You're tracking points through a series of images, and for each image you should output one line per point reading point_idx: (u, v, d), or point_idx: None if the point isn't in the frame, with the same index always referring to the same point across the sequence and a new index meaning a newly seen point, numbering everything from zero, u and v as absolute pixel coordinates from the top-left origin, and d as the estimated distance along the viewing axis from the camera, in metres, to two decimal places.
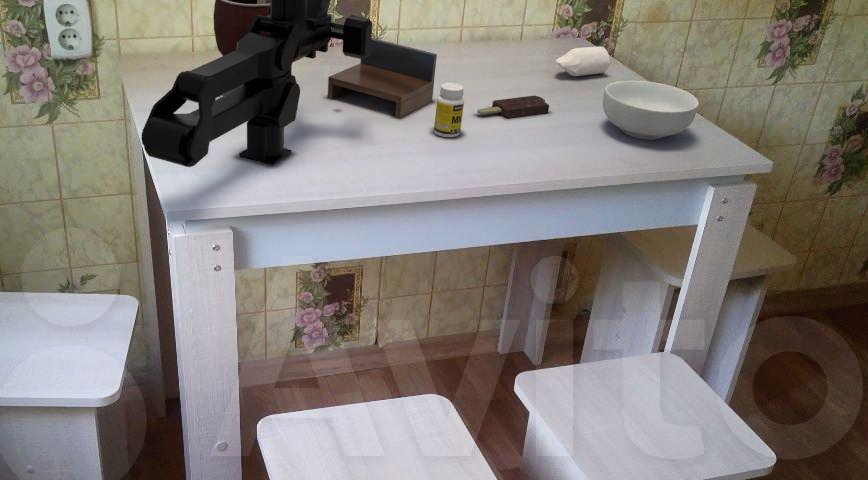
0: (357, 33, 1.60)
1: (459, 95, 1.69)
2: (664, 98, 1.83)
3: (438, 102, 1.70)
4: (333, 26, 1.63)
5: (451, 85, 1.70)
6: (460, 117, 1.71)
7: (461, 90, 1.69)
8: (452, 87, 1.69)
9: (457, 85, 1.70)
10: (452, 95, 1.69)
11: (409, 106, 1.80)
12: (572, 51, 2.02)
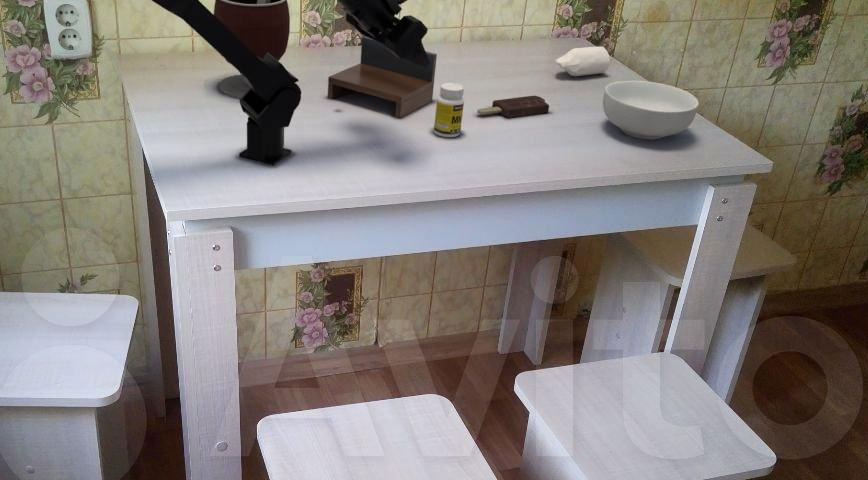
0: (407, 25, 1.51)
1: (459, 95, 1.69)
2: (664, 98, 1.83)
3: (438, 102, 1.70)
4: (396, 21, 1.56)
5: (451, 85, 1.70)
6: (460, 117, 1.71)
7: (461, 90, 1.69)
8: (452, 87, 1.69)
9: (457, 85, 1.70)
10: (452, 95, 1.69)
11: (409, 106, 1.80)
12: (572, 51, 2.02)
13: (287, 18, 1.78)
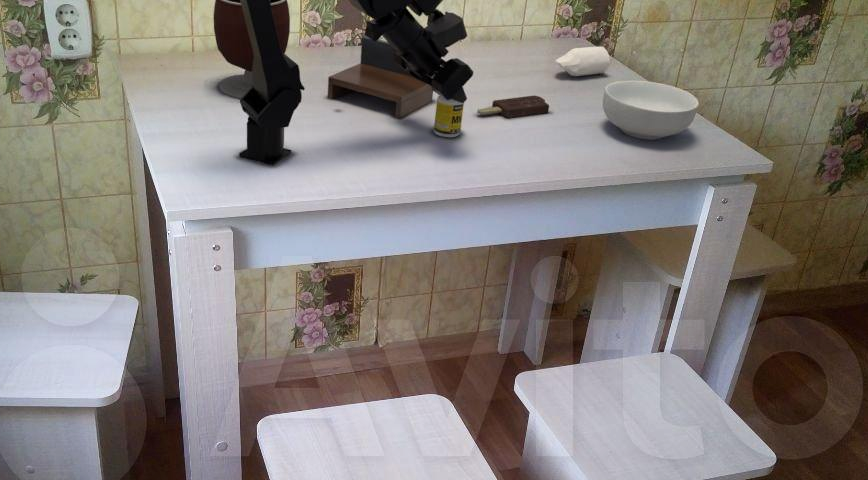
0: (454, 68, 1.58)
1: None
2: (664, 98, 1.83)
3: (438, 102, 1.70)
4: None
5: None
6: (460, 117, 1.71)
7: None
8: None
9: None
10: None
11: (409, 106, 1.80)
12: (572, 51, 2.02)
13: (287, 18, 1.78)
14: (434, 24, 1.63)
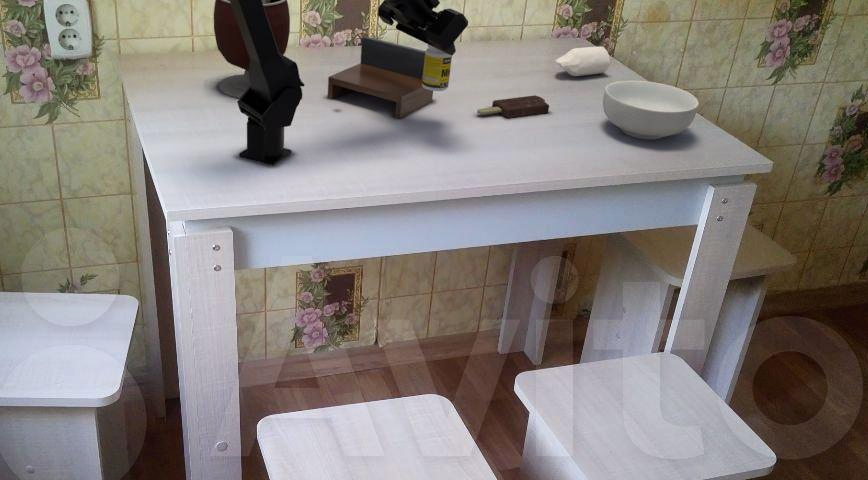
0: (450, 17, 1.58)
1: None
2: (664, 98, 1.83)
3: (427, 56, 1.70)
4: None
5: None
6: (449, 70, 1.71)
7: None
8: None
9: None
10: None
11: (409, 106, 1.80)
12: (572, 51, 2.02)
13: (287, 18, 1.78)
14: None
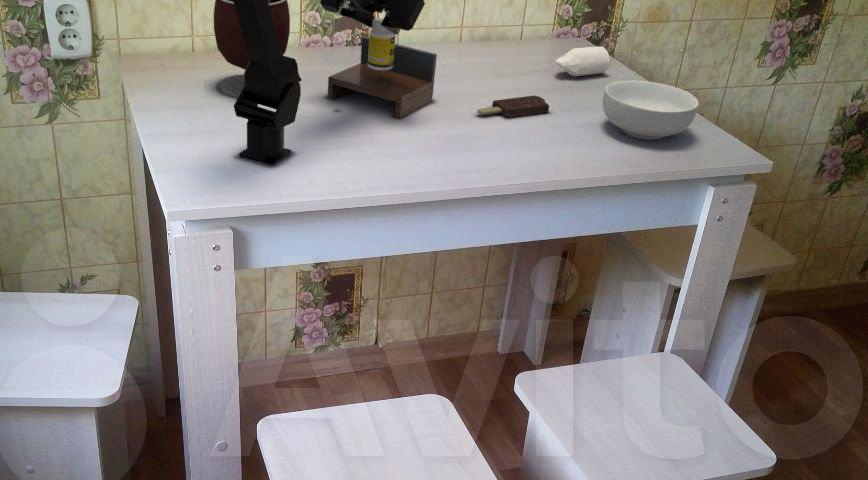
0: None
1: None
2: (664, 98, 1.83)
3: (374, 37, 1.77)
4: None
5: (381, 20, 1.77)
6: None
7: None
8: None
9: None
10: None
11: (409, 106, 1.80)
12: (572, 51, 2.02)
13: (287, 18, 1.78)
14: None
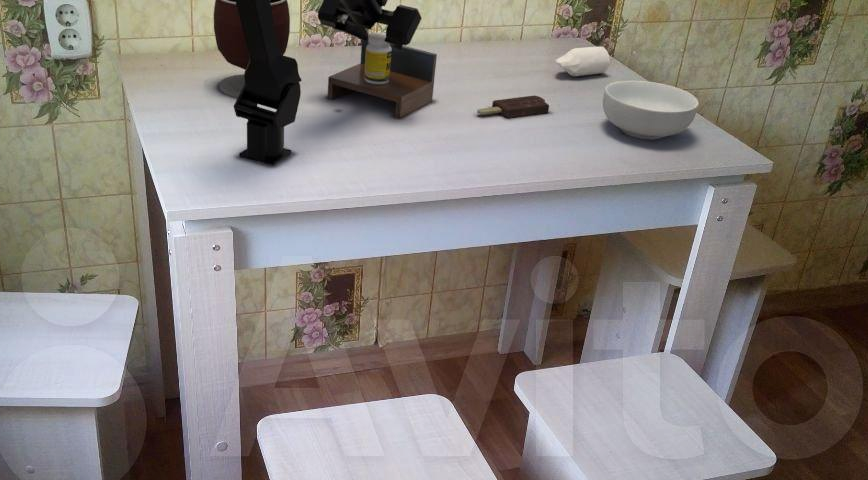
0: (407, 13, 1.68)
1: None
2: (664, 98, 1.83)
3: (371, 52, 1.78)
4: None
5: (377, 34, 1.79)
6: (390, 63, 1.81)
7: None
8: (381, 36, 1.78)
9: (382, 33, 1.79)
10: (385, 43, 1.77)
11: (409, 106, 1.80)
12: (572, 51, 2.02)
13: (287, 18, 1.78)
14: None
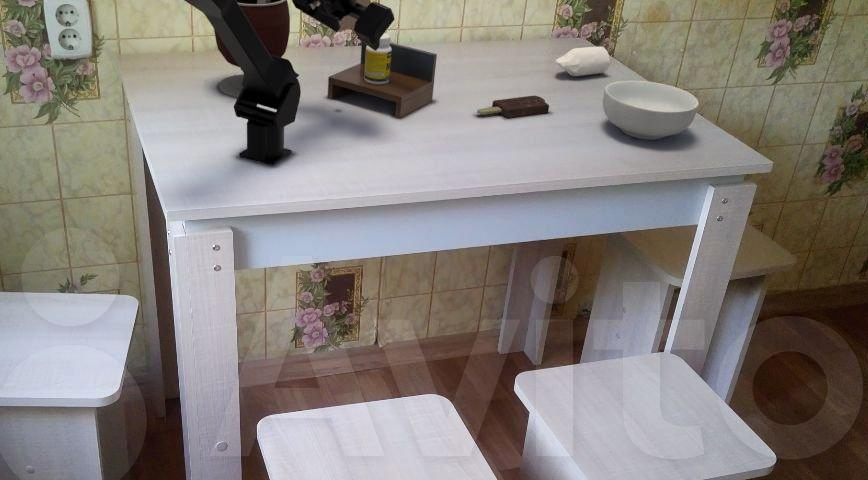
0: (379, 12, 1.60)
1: (389, 42, 1.78)
2: (664, 98, 1.83)
3: (371, 52, 1.78)
4: (357, 6, 1.64)
5: None
6: (390, 63, 1.81)
7: (390, 37, 1.78)
8: None
9: None
10: (385, 43, 1.77)
11: (409, 106, 1.80)
12: (572, 51, 2.02)
13: (287, 18, 1.78)
14: None
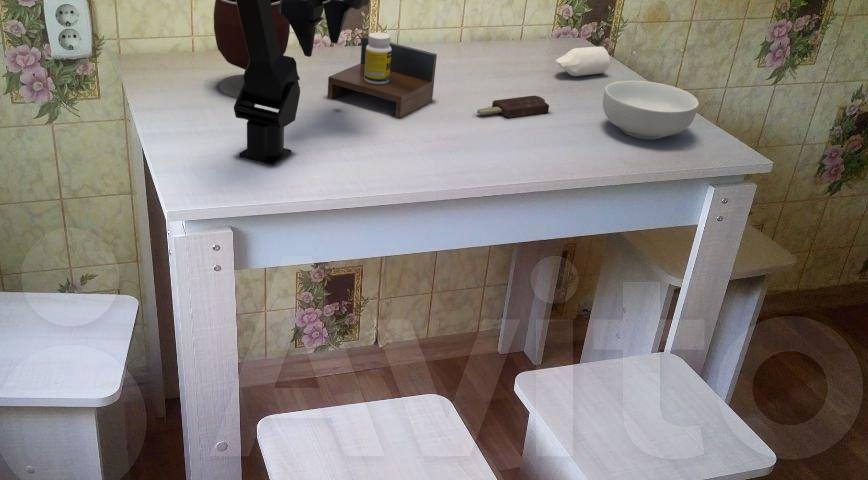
0: None
1: (389, 42, 1.78)
2: (664, 98, 1.83)
3: (371, 52, 1.78)
4: (320, 0, 1.60)
5: (377, 34, 1.79)
6: (390, 63, 1.81)
7: (390, 37, 1.78)
8: (381, 36, 1.78)
9: (382, 33, 1.79)
10: (385, 43, 1.77)
11: (409, 106, 1.80)
12: (572, 51, 2.02)
13: None
14: None
